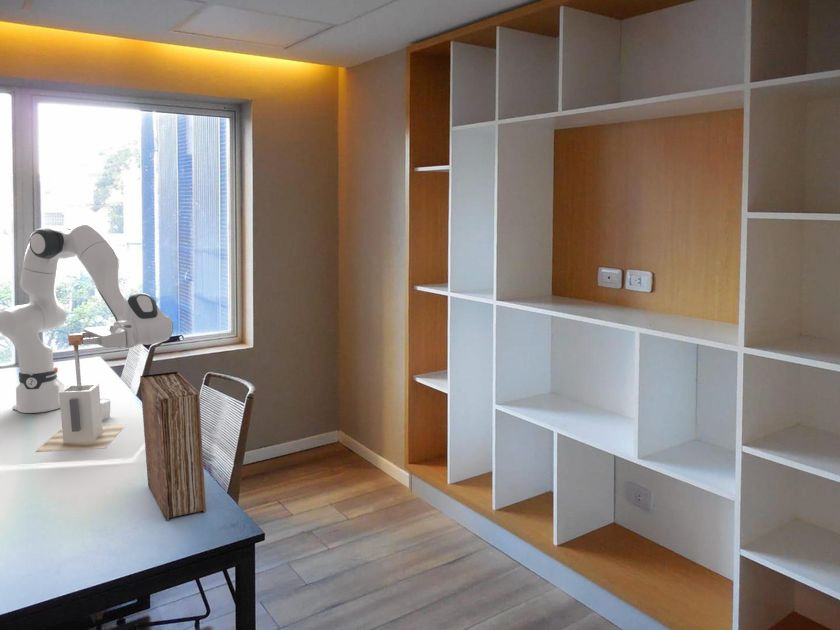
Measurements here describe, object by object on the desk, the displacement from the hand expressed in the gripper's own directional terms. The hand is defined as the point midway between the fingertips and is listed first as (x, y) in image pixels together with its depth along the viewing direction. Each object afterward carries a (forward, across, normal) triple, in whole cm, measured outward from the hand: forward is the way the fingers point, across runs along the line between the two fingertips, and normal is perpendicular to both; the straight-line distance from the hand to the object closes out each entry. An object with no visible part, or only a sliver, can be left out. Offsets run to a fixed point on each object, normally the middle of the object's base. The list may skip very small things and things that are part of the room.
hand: (77, 339), depth 218 cm
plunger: (+1, 0, +22) cm, 22 cm away
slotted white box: (+1, +1, +31) cm, 31 cm away
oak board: (0, 0, +33) cm, 33 cm away
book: (-2, +64, +32) cm, 72 cm away
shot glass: (-11, -19, +33) cm, 39 cm away
